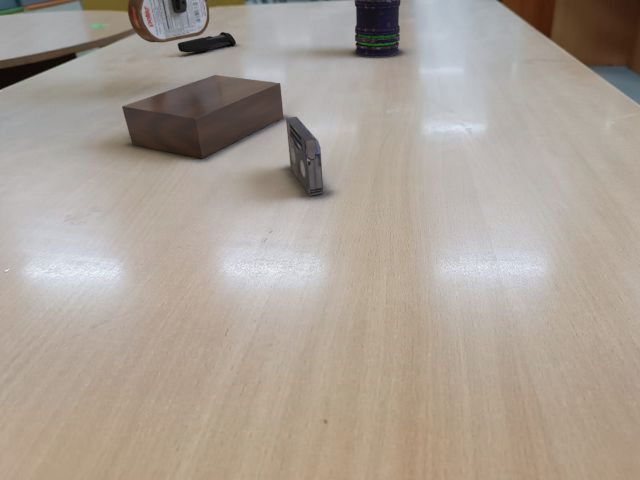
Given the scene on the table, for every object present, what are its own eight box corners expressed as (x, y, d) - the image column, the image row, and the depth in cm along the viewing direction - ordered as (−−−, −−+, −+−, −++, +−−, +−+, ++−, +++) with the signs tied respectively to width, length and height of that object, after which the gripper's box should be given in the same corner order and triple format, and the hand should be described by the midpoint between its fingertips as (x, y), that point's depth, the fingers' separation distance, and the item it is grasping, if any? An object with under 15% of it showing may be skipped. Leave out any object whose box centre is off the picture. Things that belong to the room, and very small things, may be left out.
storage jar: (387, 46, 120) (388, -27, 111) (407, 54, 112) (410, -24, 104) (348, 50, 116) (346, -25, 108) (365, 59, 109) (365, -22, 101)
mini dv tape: (323, 194, 54) (320, 139, 51) (309, 196, 54) (305, 141, 50) (303, 166, 61) (299, 115, 57) (290, 168, 60) (285, 117, 57)
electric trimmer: (175, 56, 114) (172, 41, 112) (226, 44, 125) (224, 29, 123) (186, 58, 112) (183, 43, 111) (237, 45, 123) (235, 31, 121)
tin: (204, 32, 92) (193, -21, 88) (217, 32, 91) (206, -22, 86) (135, 46, 81) (118, -14, 77) (148, 47, 80) (131, -15, 76)
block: (131, 144, 67) (121, 106, 65) (220, 107, 81) (214, 74, 78) (202, 158, 63) (194, 118, 60) (283, 117, 76) (280, 83, 73)
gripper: (92, -120, 74) (123, 12, 84) (165, -124, 69) (189, 17, 79) (132, -117, 80) (157, 7, 89) (202, -120, 74) (221, 11, 84)
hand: (172, 11), depth 84 cm, fingers closed on tin, 3 cm apart
